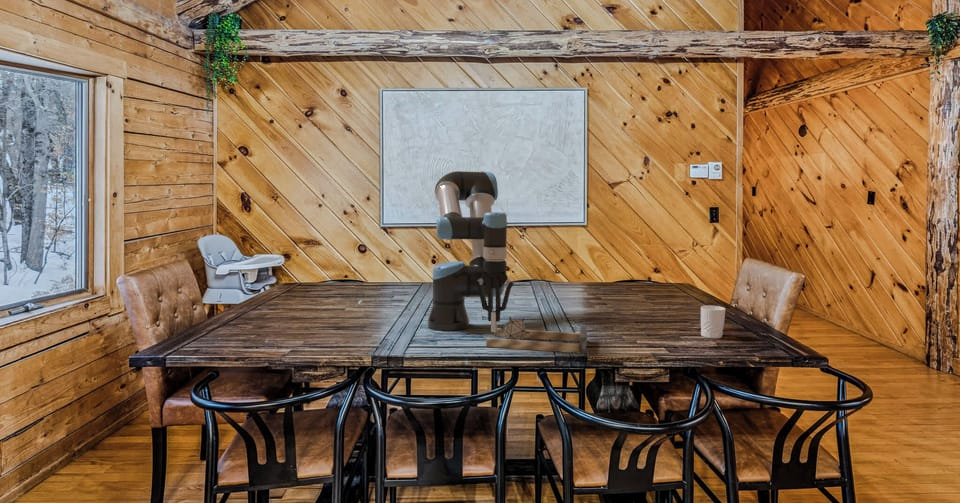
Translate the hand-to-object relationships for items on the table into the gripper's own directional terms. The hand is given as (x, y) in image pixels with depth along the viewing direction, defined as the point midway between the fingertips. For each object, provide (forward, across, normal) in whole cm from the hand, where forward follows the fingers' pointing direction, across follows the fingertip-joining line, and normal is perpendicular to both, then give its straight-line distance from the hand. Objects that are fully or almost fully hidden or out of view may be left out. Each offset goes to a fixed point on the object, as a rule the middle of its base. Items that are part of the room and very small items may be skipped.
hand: (493, 331), depth 184 cm
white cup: (+4, +72, +26) cm, 76 cm away
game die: (+4, +7, 0) cm, 8 cm away
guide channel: (+3, +14, 0) cm, 14 cm away
